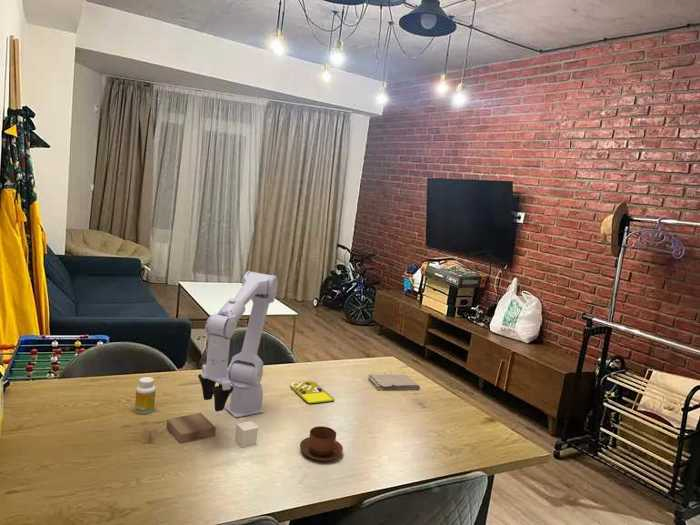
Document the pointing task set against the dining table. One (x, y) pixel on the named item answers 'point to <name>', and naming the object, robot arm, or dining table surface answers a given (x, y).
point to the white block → (246, 434)
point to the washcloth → (392, 382)
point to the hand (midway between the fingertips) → (213, 404)
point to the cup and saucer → (321, 444)
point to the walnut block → (190, 427)
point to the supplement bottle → (145, 396)
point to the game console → (311, 392)
